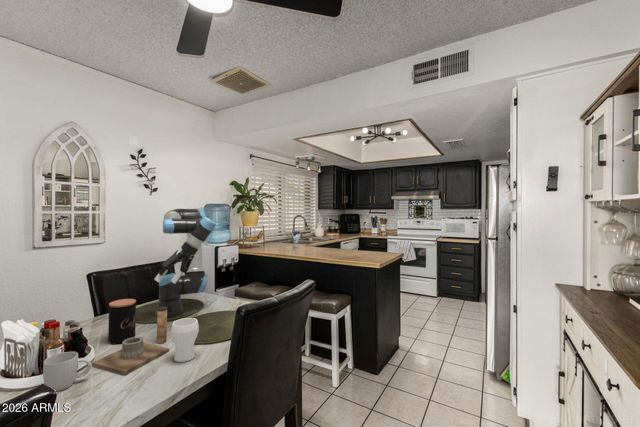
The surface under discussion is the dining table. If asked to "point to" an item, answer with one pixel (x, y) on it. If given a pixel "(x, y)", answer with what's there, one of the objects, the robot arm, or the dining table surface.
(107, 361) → the base
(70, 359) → the mug
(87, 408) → the dining table surface
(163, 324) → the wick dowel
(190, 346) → the cup
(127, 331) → the coffee jar
